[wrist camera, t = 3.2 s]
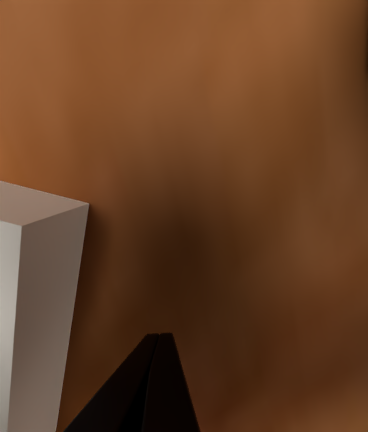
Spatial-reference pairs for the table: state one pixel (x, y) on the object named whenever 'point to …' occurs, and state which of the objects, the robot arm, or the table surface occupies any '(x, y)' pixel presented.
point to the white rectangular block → (36, 302)
